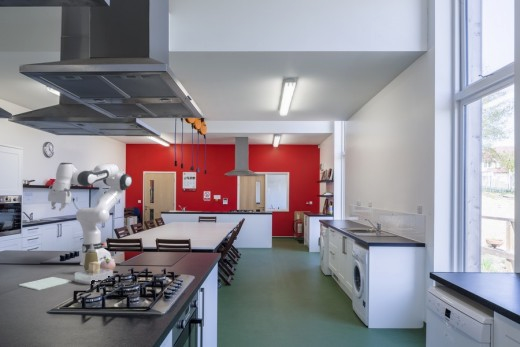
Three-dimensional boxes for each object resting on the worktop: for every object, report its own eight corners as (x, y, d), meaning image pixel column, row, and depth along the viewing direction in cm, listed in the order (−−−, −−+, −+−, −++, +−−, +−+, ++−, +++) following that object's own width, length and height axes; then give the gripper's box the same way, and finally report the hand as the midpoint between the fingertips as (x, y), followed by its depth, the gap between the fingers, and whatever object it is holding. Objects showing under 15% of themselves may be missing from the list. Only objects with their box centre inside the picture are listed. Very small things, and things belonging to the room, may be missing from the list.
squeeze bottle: (101, 271, 212) (101, 242, 213) (90, 274, 205) (91, 244, 206) (91, 270, 215) (91, 242, 216) (80, 273, 207) (81, 244, 208)
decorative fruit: (117, 274, 205) (118, 257, 206) (104, 276, 199) (104, 259, 200) (111, 271, 212) (111, 255, 212) (97, 274, 206) (98, 257, 206)
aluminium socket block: (96, 275, 201) (97, 267, 202) (112, 278, 195) (112, 270, 195) (74, 281, 189) (74, 272, 189) (90, 284, 182) (90, 275, 183)
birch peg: (94, 279, 195) (95, 261, 195) (99, 279, 193) (99, 262, 193) (88, 280, 191) (88, 262, 191) (93, 281, 189) (93, 263, 190)
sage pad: (52, 277, 197) (52, 276, 197) (71, 281, 188) (71, 280, 189) (18, 285, 181) (18, 284, 181) (38, 290, 173) (38, 289, 173)
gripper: (75, 189, 206) (71, 212, 204) (58, 187, 217) (53, 208, 215) (65, 188, 200) (60, 211, 199) (48, 186, 211) (43, 208, 210)
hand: (57, 210), depth 207 cm, fingers open, 8 cm apart
